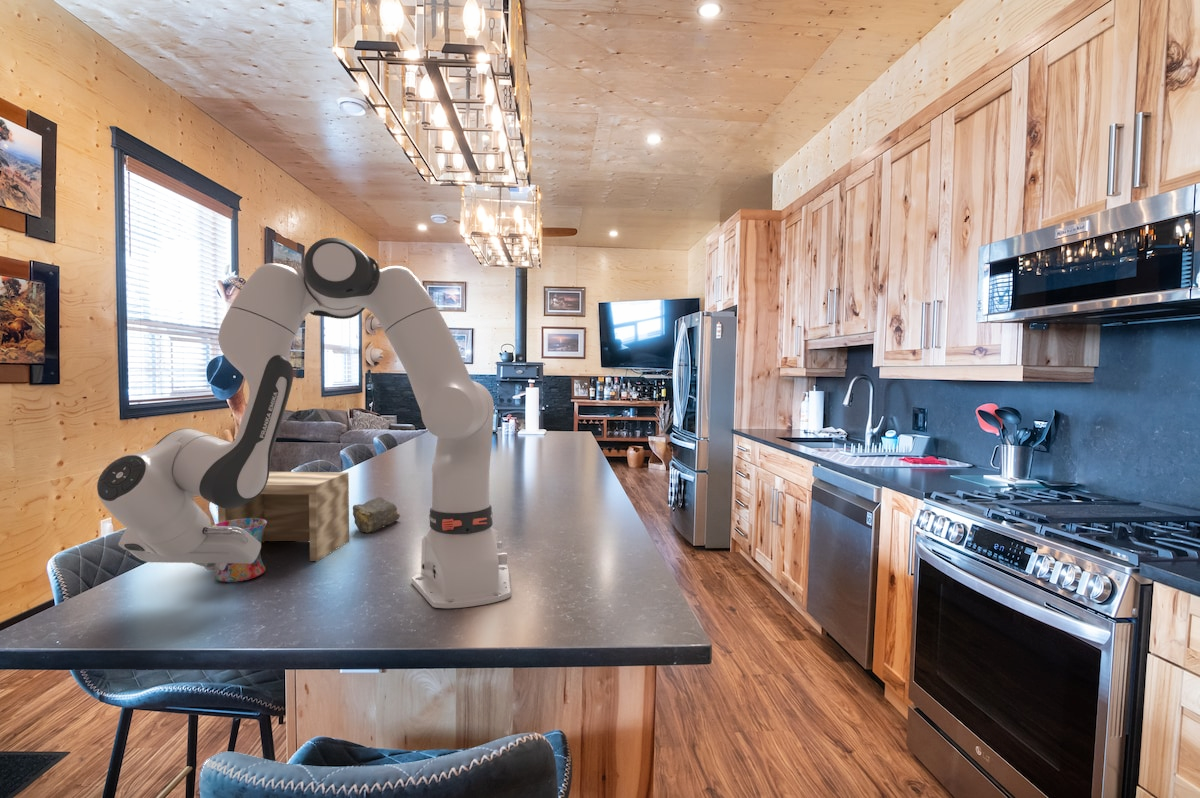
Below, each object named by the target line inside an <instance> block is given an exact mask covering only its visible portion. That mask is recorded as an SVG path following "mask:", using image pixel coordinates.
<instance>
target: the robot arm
mask: <svg viewBox="0 0 1200 798" xmlns="http://www.w3.org/2000/svg"><path fill="white" fill-rule="evenodd" d="M304 254H305V255H304V257H303V260H302V268H293V267H291V266H288V265H285V264H281V263H275V262H271V263H269V262H268V263H264V264H262V265H260V266H259V267H258V268H256V270H255V271H253V273H252V274H251V275H250V276H249V278H248V279H247V281H246V282H245V283H244V284H243V286H242V287H241V288H240V290H239V292H238V293H237V295H235V298H234V300H233V301H232V303H231V305H230V307H228V310H227V312H226V314H225V316H224V317H223V320H222V322H221V323H220V327H219V330H218V334H217V335H218V337H217V341H218V345H219V347H220V350H221V352H222V354H223V355H224V357H225V358H226V360H227V361H228V363H230V364H231V365H232V366H233V367H234V368H235V369H236V370H237V371H238V372H239V373H240V374H241V375H242V376H243V378H244V379H245V381H246V383H247V385H248V390H249V391H248V393H249V395H248V399H247V402H246V406H245V409H244V413H243V414H242V418H241V421H240V424H239V427H238V429H237V430H238V431H237V433H236V436H235V438H234V440H233V441H232V442H230V441H229V440H225V439H222V438H219V437H217V436H215V435H212V434H210V433H206V432H202V431H201V430H196V429H194V428H187V427H186V428H180V429H175V430H174V431H171V432H170V433H168V434H166V435H165V436H163V437H162V438H161V439H160V440H159V441H157V442H156V443H155V445H153V446H152V447H150V448H149V449H147V450H144V451H141V452H139V453H133V454H132V453H131V454H127V455H124V456H121V457H119V458H117V459H115V460H114V461H112V462H111V463H109V464H108V465H107V466H106V467H105V469H103V471H102V472H101V474H100V475H99V477H98V480H97V483H96V491H97V495H98V499H99V500H100V502H101V504H103V506H104V507H105V509H106V510H107V511H109V513H110V514H111V515H112V516H113V517H114V518H115V519H116V520H117V521H118V522H119V523H120V524H122V525H123V526H124V527H125V528H126V529H125V530H124V532H123V534H122V535H121V538H120V540H119V542H118V544H117V545H118V546H119V547H120V548H121V549H123V550H124V551H125V550H126V551H128V552H129V553H130V554H132V555H133V556H134V557H135V558H137V559H139V560H141V561H143V562H147V563H161V564H163V563H167V564H168V563H173V564H174V563H176V564H177V563H178V564H180V563H181V564H188V563H189V564H195V565H197V566H200V567H203V568H204V569H205V570H206V571H217V570H224V569H225V567H226V565H227V563H246V564H250V563H253V562H254V561H255V560H256V558H257V556H258V554H259V552H260V553H261V549H262V543H260V542H259V541H258V540H257V539H255V538H254V537H253V536H252V535H251V534H249V533H248V532H247V531H245V530H243V529H241V528H238V527H231V526H213V525H212V521H211V519H210V517H209V515H208V514H207V513H206V512H205V511H204V510H203V509H202V508H201V507H200V506H199V505H198V504H197V503H196V501H194V498H195V496H198V497H200V498H203V499H204V500H206V501H208V502H209V503H211V504H214V505H215V506H217V507H218V506H219V507H221V508H225V509H231V508H236V507H239V506H241V505H244V504H246V503H248V502H250V501H252V500H253V499H255V498H256V497H257V496H258V495H259V494H260V493H261V492H262V491H263V489H264V488H265V486H266V484H267V481H268V477H269V472H271V461H272V454H273V450H274V447H275V443H276V441H277V436H278V434H279V431H280V428H281V425H282V421H283V417H284V415H285V410H286V407H287V404H288V402H289V401H288V400H289V397H290V394H291V390H292V386H293V380H294V368H293V365H292V363H291V362H290V358H291V357H290V355H291V349H292V345H293V342H294V340H295V338H296V335H297V334H298V331H299V329H300V327H301V325H302V323H303V321H304V320H305V318H306V317H307V316H308V315H309V314H311V315H313V316H317V317H325V318H332V319H338V320H339V319H340V320H346V319H347V320H348V319H352V318H355V317H357V316H358V315H360V314H361V313H363V311H364V310H368V311H369V312H370V313H371V314H372V315H373V316H374V317H375V319H377V321H378V323H379V324H380V326H381V329H382V331H383V333H384V334H385V336H386V339H387V340H388V341H389V343H390V345H391V347H392V348H393V350H394V353H395V354H396V356H397V357H398V359H399V361H400V363H401V365H402V367H403V368H404V371H405V372H406V373H405V374H406V375H407V378H408V380H409V383H410V385H411V389H412V392H413V394H414V397H415V400H416V402H417V405H418V406H419V409H420V414H421V421H422V423H423V425H424V427H425V428H426V429H427V430H428V431H429V433H431V434H432V435H434V436H435V437H437V440H436V447H435V454H434V455H435V456H434V458H433V459H434V460H433V464H432V468H431V507H430V509H429V515H428V518H429V527H430V529H429V531H428V532H427V533H426V534H425V536H423V537H422V539H421V561H420V563H421V564H420V569H421V570H420V573H418V574H415V575H413V576H412V577H411V584H412V586H413V587H414V588H415V589H416V590H417V591H418V592H419V593H420V595H421V596H423V598H424V599H425V600H426V601H427V602H428V603H429V604H430V605H431V607H432V608H437V609H461V608H468V607H469V608H471V607H476V606H482V605H487V604H493V603H497V602H501V601H504V600H506V599H509V598H510V597H512V591H511V590H512V589H511V580H510V573H509V571H510V570H509V567H508V565H507V564H508V553H507V552H499V551H498V549H499V550H501V549H503V541H501V540H499V541H498V530H496V529H495V528H494V527H493V524H494V523H493V517H494V515H493V509H492V505H491V504H490V503H491V502H490V470H491V469H490V466H491V456H492V447H493V446H492V443H493V431H494V414H495V413H494V411H495V404H494V398H493V396H492V394H491V392H490V391H489V390H488V389H487V387H486V386H484V384H481V383H480V382H478V381H476V380H475V381H474V380H472V378H471V375H470V373H469V371H468V369H467V367H466V365H465V362H464V359H463V357H462V354H461V352H460V350H459V345H458V343H457V341H456V339H455V337H454V335H453V334H452V331H451V330H450V328H449V326H448V325H447V322H446V321H445V319H444V318H443V315H442V314H441V312H440V310H439V308H438V307H437V305H436V303H435V301H434V299H433V298H432V297H431V295H430V294H429V292H428V291H427V288H425V286H424V285H423V283H422V282H421V281H420V280H419V279H418V277H417V276H416V275H415V274H414V272H412V271H411V270H410V269H409V268H407V267H404V266H402V265H391V266H387V267H384V268H382V269H380V266H379V263H378V261H377V260H376V259H374V258H373V257H371V256H369V255H368V254H366V253H364V251H362V250H361V249H360V248H358V247H357V246H355V245H354V244H353V243H351V242H349V241H347V240H345V239H342V238H338V237H326V238H321V239H320V240H317V241H315V243H313V244H312V245H311V246H310V247H309V248H308V249H307V251H306V253H304Z"/></svg>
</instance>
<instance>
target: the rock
mask: <svg viewBox="0 0 1200 798" xmlns="http://www.w3.org/2000/svg"><path fill="white" fill-rule="evenodd" d="M352 516H353V518H354V524H355V526H356V527H357V529H358V530H359V531H360V532H361V533H363V532H365V533H366V534H368V533H374V532H376V531H377V530H380V529H382V528H384V527H383V526H385V527H387V526H386V525H388V526H390V525H391V524H393V523H395V522H396V521H397V520H399V519H400V518H401V514H400V513H398V508H397V506H396V505H395V504H394V503H392V502H389V501H387V500H385V499H384V498H383V497H381V496H378V497H376V498H374V499H370V500H368V501H366V502H365V503H363V504H360V503H358V504H354V505H353V506H352ZM389 524H390V525H389ZM381 527H382V528H381ZM373 531H374V532H373Z"/></svg>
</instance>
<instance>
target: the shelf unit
mask: <svg viewBox="0 0 1200 798" xmlns="http://www.w3.org/2000/svg"><path fill="white" fill-rule="evenodd" d="M349 481H350V480H349V472H346V471H345V472H342V471H341V472H340V471H339V472H338V471H337V472H334V471H332V472H331V471H326V472H325V471H321V472H320V471H269V477H268V481H267V484H266V486H265V488H264V489H263V491H262V492H261V493H260V494H259V495H258V496H257V497H256V498H255V499H253V500H252V501H250V502H248V503H246V504H244V505H241V506H239V507H236V508H231V509H225V508H221V507H219V506H217V511H218V512H217V519H218V520H217V521H218V522H217V524H218V523H221V522H224V521H229V520H235V519H245V518H259V519H264V520H266V521H267V524H266V526H265V528H264V531H263V534H262V537H261V542H260V543H261V544H263V543H265V542H264V541H301V542H300V543H309V562H310V561H318V560H319V561H321V560H322V559H324V558H326V557H327V556H328V555H327V554H329V553H330V552H332V551H333V550H335V549H336V548H338V547H339V548H341V547H342V546H343V544H344V543H345V544H347V543H349V541H350V499H349V498H350V497H349V496H350V491H349V489H350V488H349V484H350V483H349ZM308 541H310V542H308ZM262 542H263V543H262ZM346 542H347V543H346ZM345 544H344V545H345ZM341 545H342V546H341ZM340 546H341V547H340ZM339 548H338V549H339ZM336 550H337V549H336ZM336 550H335V551H336ZM333 552H334V551H333ZM333 552H332V553H333ZM330 554H331V553H330ZM330 554H329V555H330ZM326 555H327V556H326ZM323 557H324V558H323ZM321 558H322V559H321ZM320 559H321V560H320ZM319 561H318V562H319Z"/></svg>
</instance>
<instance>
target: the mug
mask: <svg viewBox="0 0 1200 798" xmlns="http://www.w3.org/2000/svg"><path fill="white" fill-rule="evenodd" d="M266 524H267V521H266V520H264V519H259V518H245V519H235V520H229V521H224V522H221V523H218V522H217V523H216V524H213V525H212V526H231V527H238V528H241V529H243V530H245V531H247V532H248V533H249V534H251V535H252V536H253V537H254V538H255V539H257V540H258V541H259V542H261V537H262V534H263V531H264V528H265V526H266ZM266 569H267V568H266V566H265V565H264V563H263V559H262V555H261V551H260V552H259V554H258V556H257V558H256V560H255V561H254V562H253V563H250V564H246V563H227V565H226V567H225V569H224V570H216V573H215V575H214V577H215V579H216V580H217V581H219V582H225V583H236V582H237V583H238V581H239V582H243V581H244V580H245V581H248V580H251V579H254V578H256V577H259V576H261V575H262V574H264V573H265V572H266ZM245 581H244V582H245Z"/></svg>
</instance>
